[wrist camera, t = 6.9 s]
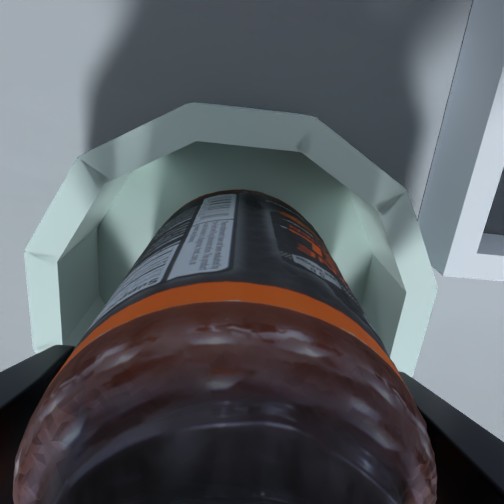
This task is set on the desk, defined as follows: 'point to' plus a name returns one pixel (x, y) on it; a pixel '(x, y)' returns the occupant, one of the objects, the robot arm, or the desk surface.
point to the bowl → (219, 179)
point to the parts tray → (469, 156)
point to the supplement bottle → (229, 379)
